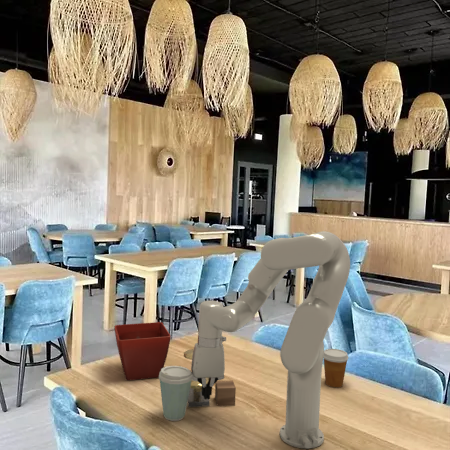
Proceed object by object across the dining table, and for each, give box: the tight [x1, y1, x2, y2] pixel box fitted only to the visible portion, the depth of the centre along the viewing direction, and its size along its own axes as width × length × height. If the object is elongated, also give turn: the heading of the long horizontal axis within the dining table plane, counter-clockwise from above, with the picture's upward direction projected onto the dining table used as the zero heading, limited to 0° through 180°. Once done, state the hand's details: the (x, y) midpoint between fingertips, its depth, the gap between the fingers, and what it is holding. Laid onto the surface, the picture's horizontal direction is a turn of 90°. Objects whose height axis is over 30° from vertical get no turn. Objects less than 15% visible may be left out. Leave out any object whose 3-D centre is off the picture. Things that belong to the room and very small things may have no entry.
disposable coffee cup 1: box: [158, 365, 193, 422], centre depth 138 cm, size 11×11×15 cm
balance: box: [183, 348, 211, 408], centre depth 154 cm, size 23×9×12 cm, turn 8°
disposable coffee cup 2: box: [323, 348, 350, 388], centre depth 166 cm, size 10×10×12 cm
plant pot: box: [114, 321, 171, 381], centre depth 170 cm, size 19×19×17 cm
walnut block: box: [214, 379, 237, 407], centre depth 149 cm, size 6×6×6 cm
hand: (206, 397), depth 140 cm, fingers closed
